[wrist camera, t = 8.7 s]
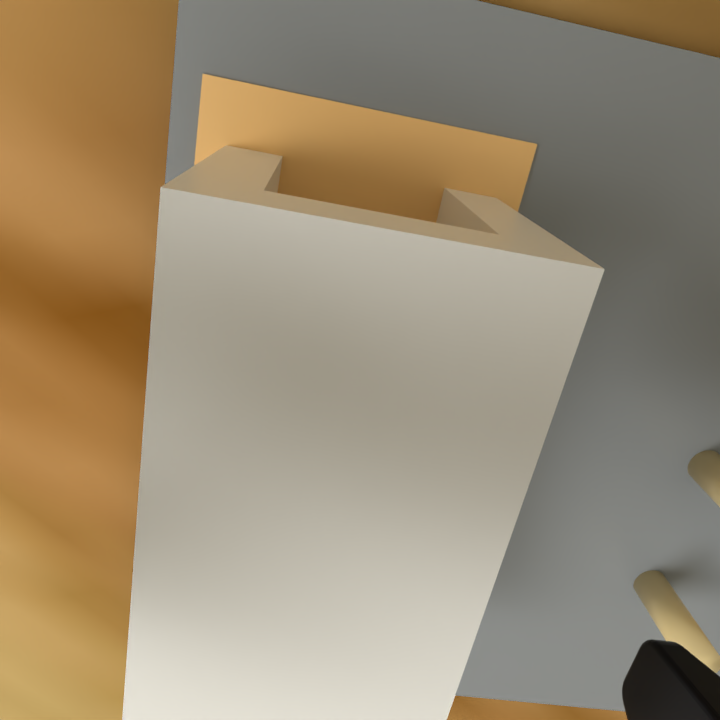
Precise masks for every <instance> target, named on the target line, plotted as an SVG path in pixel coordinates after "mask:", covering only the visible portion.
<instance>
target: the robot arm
mask: <svg viewBox="0 0 720 720" xmlns="http://www.w3.org/2000/svg"><path fill="white" fill-rule="evenodd" d="M622 699H623V704H624V708H625V712H626V715H627V719H628V720H720V676H719V675H717V674H716V673H715V672H714V671H712V670H711V669H710V668H709V667H707V666H706V665H705V664H704V663H703V662H701V661H700V660H699V659H698V658H696V657H695V656H694V655H693V654H691V653H690V652H689V651H688V650H687V649H685V648H684V647H683V646H681V645H680V644H678V643H676V642H672V641H663V640H654V639H650V640H646V641H645V642H644V643H642V645H641V646H640V648H639V650H638V652H637V654H636V656H635V658H634V660H633V662H632V664H631V666H630V668H629V671H628V673H627V675H626V677H625V679H624V681H623V686H622Z"/></svg>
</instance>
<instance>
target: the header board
mask: <svg viewBox="0 0 720 720" xmlns="http://www.w3.org/2000/svg"><path fill="white" fill-rule="evenodd" d="M226 145H228V146H233V147H239V148H244V149H249V150H254V151H259V152H264V153H269V154H274V155H280V156H283V157H282V164H281V171H280V178H279V185H278V192H277V193H280V194H286V195H291V196H296V197H302V198H307V199H312V200H318V201H323V202H328V203H334V204H339V205H344V206H350V207H355V208H360V209H366V210H371V211H376V212H381V213H387V214H392V215H397V216H403V217H408V218H413V219H419V220H424V221H429V222H435V223H436V221H437V217H438V213H439V208H440V204H441V200H442V196H443V192H444V188H449V189H454V190H459V191H464V192H469V193H474V194H479V195H484V196H490V197H495V198H497V199H499V200H500V201H502V202H503V203H505V204H506V205H508V206H509V207H511V208H512V209H514V210H516V211H517V212H519V213H520V214H522V215H523V216H525V217H526V218H528V219H529V220H531V221H532V222H534V223H535V224H537V225H538V226H540V227H541V228H543V229H544V230H546V231H547V232H549V233H551V234H552V235H554V236H555V237H557V238H558V239H560V240H561V241H563V242H564V243H566V244H567V245H569V246H570V247H572V248H573V249H575V250H576V251H578V252H579V253H581V254H582V255H584V256H586V257H587V258H589V259H590V260H592V261H593V262H595V263H596V264H598V265H599V266H601V267H602V268H604V269H605V270H604V273H603V276H602V278H601V281H600V284H599V287H598V290H597V293H596V296H595V298H594V301H593V304H592V307H591V310H590V313H589V316H588V318H587V321H586V324H585V327H584V330H583V333H582V335H581V338H580V341H579V344H578V347H577V350H576V353H575V355H574V358H573V361H572V364H571V367H570V370H569V372H568V375H567V378H566V381H565V384H564V387H563V390H562V392H561V395H560V398H559V401H558V404H557V407H556V410H555V412H554V415H553V418H552V421H551V424H550V427H549V429H548V432H547V435H546V438H545V441H544V444H543V447H542V449H541V452H540V455H539V458H538V461H537V464H536V467H535V469H534V472H533V475H532V478H531V481H530V484H529V486H528V489H527V492H526V495H525V498H524V501H523V504H522V506H521V509H520V512H519V515H518V518H517V521H516V524H515V526H514V529H513V532H512V535H511V538H510V541H509V543H508V546H507V549H506V552H505V555H504V558H503V561H502V563H501V566H500V569H499V572H498V575H497V578H496V581H495V583H494V586H493V589H492V592H491V595H490V598H489V600H488V603H487V606H486V609H485V612H484V615H483V618H482V620H481V623H480V626H479V629H478V632H477V635H476V638H475V640H474V643H473V646H472V649H471V652H470V655H469V657H468V660H467V663H466V666H465V669H464V672H463V675H462V677H461V680H460V683H459V686H458V689H457V692H456V694H455V695H457V696H467V697H478V698H489V699H499V700H510V701H520V702H531V703H541V704H552V705H563V706H573V707H584V708H594V709H605V710H616V711H625V708H624V704H623V699H622V686H623V681H624V679H625V677H626V675H627V673H628V671H629V668H630V666H631V664H632V662H633V660H634V658H635V656H636V654H637V652H638V650H639V648H640V646H641V645H642V643H644V642H645V641H646V640H650V639H654V640H663V641H672V642H676V643H678V644H680V645H681V646H683V647H684V648H685V649H687V650H688V651H689V652H690V653H691V654H693V655H694V656H695V657H696V658H698V659H699V660H700V661H701V662H703V663H704V664H705V665H706V666H707V667H709V668H710V669H711V670H712V671H714V672H715V673H716V674H717V675H719V676H720V58H718V57H714V56H709V55H705V54H701V53H697V52H693V51H688V50H684V49H680V48H676V47H672V46H667V45H663V44H659V43H655V42H650V41H646V40H642V39H638V38H634V37H629V36H625V35H621V34H617V33H613V32H608V31H604V30H600V29H596V28H591V27H587V26H583V25H579V24H575V23H570V22H566V21H562V20H558V19H554V18H549V17H545V16H541V15H537V14H533V13H528V12H524V11H520V10H516V9H511V8H507V7H503V6H499V5H495V4H490V3H486V2H482V1H478V0H179V6H178V20H177V33H176V46H175V59H174V72H173V85H172V98H171V111H170V124H169V137H168V150H167V163H166V176H165V184H166V183H168V182H169V181H171V180H173V179H174V178H176V177H177V176H179V175H180V174H182V173H183V172H185V171H187V170H188V169H190V168H191V167H193V166H194V165H196V164H198V163H199V162H201V161H202V160H204V159H205V158H207V157H208V156H210V155H212V154H213V153H215V152H216V151H218V150H219V149H221V148H223V147H224V146H226Z"/></svg>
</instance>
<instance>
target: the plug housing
mask: <svg viewBox="0 0 720 720" xmlns="http://www.w3.org/2000/svg"><path fill="white" fill-rule="evenodd" d="M282 157H283V156H280V155H274V154H269V153H264V152H259V151H254V150H249V149H244V148H239V147H233V146H228V145H226V146H224V147H223V148H221V149H219V150H218V151H216V152H215V153H213V154H212V155H210V156H208V157H207V158H205V159H204V160H202V161H201V162H199V163H198V164H196V165H194V166H193V167H191V168H190V169H188V170H187V171H185V172H183V173H182V174H180V175H179V176H177V177H176V178H174V179H173V180H171V181H169V182H168V183H166V184H165V185H163V186H162V187H161V189H160V203H159V217H158V231H157V245H156V259H155V273H154V286H153V300H152V314H151V328H150V342H149V356H148V370H147V384H146V398H145V412H144V426H143V440H142V453H141V467H140V481H139V495H138V509H137V523H136V537H135V551H134V565H133V579H132V593H131V607H130V620H129V634H128V648H127V662H126V676H125V690H124V704H123V718H122V720H447V717H448V714H449V712H450V709H451V706H452V703H453V700H454V697H455V694H456V692H457V689H458V686H459V683H460V680H461V677H462V675H463V672H464V669H465V666H466V663H467V660H468V657H469V655H470V652H471V649H472V646H473V643H474V640H475V638H476V635H477V632H478V629H479V626H480V623H481V620H482V618H483V615H484V612H485V609H486V606H487V603H488V600H489V598H490V595H491V592H492V589H493V586H494V583H495V581H496V578H497V575H498V572H499V569H500V566H501V563H502V561H503V558H504V555H505V552H506V549H507V546H508V543H509V541H510V538H511V535H512V532H513V529H514V526H515V524H516V521H517V518H518V515H519V512H520V509H521V506H522V504H523V501H524V498H525V495H526V492H527V489H528V486H529V484H530V481H531V478H532V475H533V472H534V469H535V467H536V464H537V461H538V458H539V455H540V452H541V449H542V447H543V444H544V441H545V438H546V435H547V432H548V429H549V427H550V424H551V421H552V418H553V415H554V412H555V410H556V407H557V404H558V401H559V398H560V395H561V392H562V390H563V387H564V384H565V381H566V378H567V375H568V372H569V370H570V367H571V364H572V361H573V358H574V355H575V353H576V350H577V347H578V344H579V341H580V338H581V335H582V333H583V330H584V327H585V324H586V321H587V318H588V316H589V313H590V310H591V307H592V304H593V301H594V298H595V296H596V293H597V290H598V287H599V284H600V281H601V278H602V276H603V273H604V270H605V269H604V268H602V267H601V266H599V265H598V264H596V263H595V262H593V261H592V260H590V259H589V258H587V257H586V256H584V255H582V254H581V253H579V252H578V251H576V250H575V249H573V248H572V247H570V246H569V245H567V244H566V243H564V242H563V241H561V240H560V239H558V238H557V237H555V236H554V235H552V234H551V233H549V232H547V231H546V230H544V229H543V228H541V227H540V226H538V225H537V224H535V223H534V222H532V221H531V220H529V219H528V218H526V217H525V216H523V215H522V214H520V213H519V212H517V211H516V210H514V209H512V208H511V207H509V206H508V205H506V204H505V203H503V202H502V201H500V200H499V199H497V198H495V197H490V196H484V195H479V194H474V193H469V192H464V191H459V190H454V189H449V188H444V192H443V196H442V200H441V204H440V208H439V213H438V217H437V221H436V223H435V222H429V221H424V220H419V219H413V218H408V217H403V216H397V215H392V214H387V213H381V212H376V211H371V210H366V209H360V208H355V207H350V206H344V205H339V204H334V203H328V202H323V201H318V200H312V199H307V198H302V197H296V196H291V195H286V194H280V193H277V192H278V185H279V178H280V171H281V164H282Z"/></svg>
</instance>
